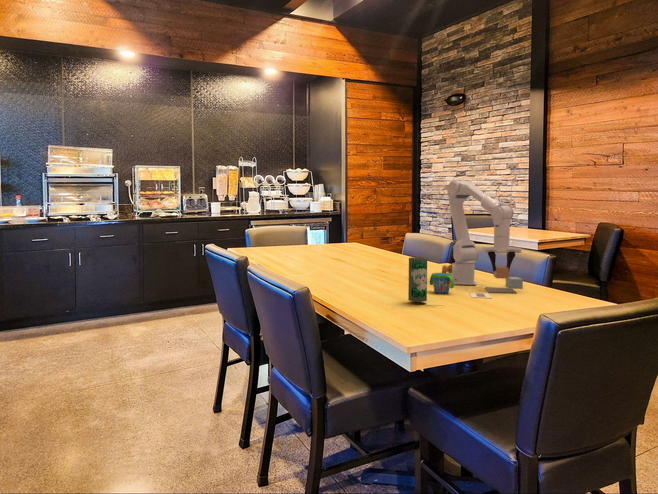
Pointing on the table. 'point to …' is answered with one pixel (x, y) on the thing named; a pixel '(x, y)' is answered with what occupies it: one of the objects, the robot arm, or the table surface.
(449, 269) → the lion figurine
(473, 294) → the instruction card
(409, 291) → the can
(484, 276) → the table surface
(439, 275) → the snack cup
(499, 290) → the baseplate
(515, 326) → the table surface
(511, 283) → the grey brick
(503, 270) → the brown brick
